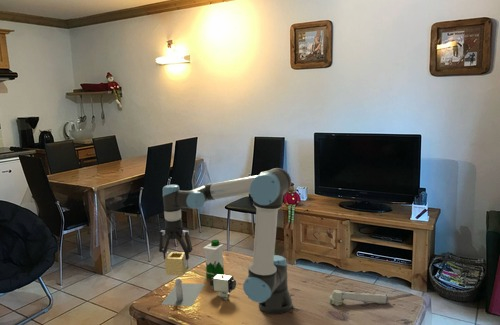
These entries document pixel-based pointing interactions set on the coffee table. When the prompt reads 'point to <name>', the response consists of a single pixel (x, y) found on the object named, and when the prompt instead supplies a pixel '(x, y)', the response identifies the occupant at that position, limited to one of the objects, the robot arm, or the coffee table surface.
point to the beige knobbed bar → (357, 297)
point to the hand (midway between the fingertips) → (177, 266)
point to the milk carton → (214, 259)
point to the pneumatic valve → (223, 285)
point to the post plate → (183, 294)
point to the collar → (175, 264)
